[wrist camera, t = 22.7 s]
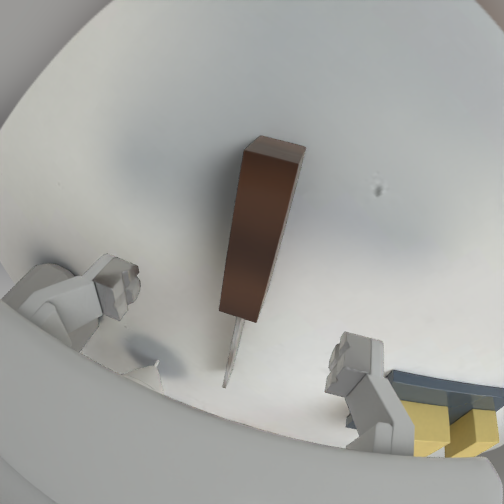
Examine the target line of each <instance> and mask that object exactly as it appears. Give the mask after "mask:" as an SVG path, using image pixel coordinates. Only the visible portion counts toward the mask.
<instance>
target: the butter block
mask: <svg viewBox="0 0 504 504" xmlns="http://www.w3.org/2000/svg"><path fill="white" fill-rule="evenodd" d="M400 401H401V403H402V405H403V406H404V408H405V410H406V412H407V413H408V415H409V417H410V419H411V420H412V422H413V424H414V426H415V433H414V456H416V457H427V456H428V455H430V454H432V453H434V452H435V451H437V450H439V449H440V448H442V447H444V446H445V445H447V444H449V443H450V427H449V414H448V407H447V406H438V405H430V404H423V403H416V402H410V401H403V400H400Z"/></svg>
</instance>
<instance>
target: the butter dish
mask: <svg viewBox="0 0 504 504" xmlns="http://www.w3.org/2000/svg"><path fill="white" fill-rule="evenodd" d="M387 379H388V381H389V382H390V384H391V386H392V387H393V389H394V391H395V393H396V394H397V396H398V398H399V399H400V400H403V401H410V402H416V403H423V404H430V405H438V406H447V407H448V414H449V426H450V425H451V424H453V423H454V422H456V421H457V420H458V419H460V418H461V417H463V416H464V415H465V414H467V413H468V412H469V411H471V410H472V409H480V410H492V411H495V412H497V411H498V410H499V409H500V408H502V407H503V406H504V388H495V387H488V386H480V385H473V384H467V383H460V382H454V381H448V380H442V379H436V378H431V377H425V376H420V375H415V374H410V373H405V372H400V371H395V370H393V371H392V372H391V373H390V374H389V376H388V377H387ZM346 427H347V428H353V429H356V426H355V423H354V421H353V418H352V415H351V414H350V415H349V416H348V417H347V419H346Z"/></svg>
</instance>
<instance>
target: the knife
mask: <svg viewBox="0 0 504 504" xmlns="http://www.w3.org/2000/svg"><path fill="white" fill-rule="evenodd" d="M305 150H306V147H304V146H300V145H297V144H293V143H289V142H285V141H282V140H278V139H274V138H269V137H265V136H259V137H258V138H257V139H256V140H255V141H254V142H253V143H251V144H250V145H249V146H248V147H247V148H246V149H245V150H244V152H243V158H242V164H241V170H240V176H239V182H238V188H237V194H236V200H235V206H234V213H233V219H232V225H231V232H230V238H229V245H228V251H227V258H226V265H225V271H224V278H223V285H222V292H221V299H220V306H219V311H221V312H224V313H227V314H230V315H233V316H236V317H237V319H236V324H235V329H234V334H233V338H232V343H231V348H230V353H229V358H228V363H227V367H226V372H225V377H224V382H223V388H226V386H227V383H228V381H229V378H230V375H231V373H232V370H233V366H234V362H235V358H236V354H237V350H238V346H239V342H240V337H241V333H242V329H243V325H244V321H245V320H249V321H252V322H255V323H256V322H257V320H258V317H259V314H260V311H261V309H262V306H263V303H264V300H265V297H266V294H267V291H268V288H269V285H270V281H271V277H272V274H273V270H274V267H275V263H276V260H277V256H278V252H279V249H280V245H281V241H282V238H283V234H284V230H285V227H286V223H287V219H288V216H289V212H290V208H291V204H292V201H293V197H294V193H295V189H296V185H297V182H298V178H299V174H300V170H301V166H302V162H303V158H304V154H305Z"/></svg>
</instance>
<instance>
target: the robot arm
mask: <svg viewBox="0 0 504 504" xmlns="http://www.w3.org/2000/svg"><path fill="white" fill-rule="evenodd" d="M138 273H139V269H138V266H137V265H135V264H133V263H130V262H128V261H125V260H123V259H120V258H118V257H115V256H113V255H110V254H108V253H107V254H104V255H102V256H101V257H100V258H99V259H98V260H97V261H96V262H95V263H94V264H93V265H92V266H91V267H90V268H89V269H88V270H87V271H86V273H85V274H84V275H83V276H80V275H79V276H76V277H73V278H70V279H67V280H64V281H62V282H59V283H56V284H53V285H51V286H48V287H45V288H42V289H40V290H37V291H34V292H33V293H32V294H31V295H30V296H29V297H28V298H27V299H26V300H25V301H24V302H23V303H22V304H21V305H20V307H19V308H18V309H17V310H16V311H15V310H14V309H13V308H11V307H10V306H9V305H7V304H6V303H5V302H3V301H2V300H1V299H0V504H502V500H503V489H502V488H503V487H502V482H501V480H500V478H499V476H498V474H497V472H496V470H495V469H494V467H493V465H492V464H491V463H490V461H489V460H488V459H487V458H485V457H461V458H442V457H416V456H414V433H415V426H414V424H413V422H412V420H411V419H410V417H409V415H408V413H407V412H406V410H405V408H404V406H403V405H402V403H401V401H400V399H399V398H398V396H397V394H396V393H395V391H394V389H393V387H392V386H391V384H390V382H389V381H388V379H387V378H384V345H383V341H380V340H376V339H372V338H369V337H365V336H361V335H357V334H353V333H349V332H344V333H343V334H342V336H341V338H340V343H339V344H337V345H336V346H335V348H334V350H333V352H332V354H331V357H330V361H329V367H328V368H329V369H330V371H331V372H330V374H329V375H328V377H327V381H326V387H325V392H326V393H329V394H333V395H337V396H341V397H345V400H346V403H347V405H348V408H349V410H350V413H351V415H352V418H353V421H354V423H355V426H356V429H357V431H358V434H359V437H358V438H357V439H355V440H354V441H353V442H351V443H350V444H348V445H347V446H346V449H345V448H339V447H333V446H328V445H323V444H318V443H313V442H308V441H304V440H299V439H295V438H291V437H287V436H283V435H279V434H275V433H271V432H268V431H264V430H261V429H257V428H254V427H250V426H247V425H244V424H241V423H237V422H234V421H231V420H228V419H225V418H222V417H219V416H217V415H214V414H211V413H208V412H205V411H203V410H200V409H197V408H195V407H192V406H190V405H187V404H184V403H182V402H179V401H177V400H175V399H172V398H170V397H167V396H165V395H163V394H160V393H158V392H156V391H154V390H151V389H149V388H147V387H145V386H143V385H141V384H138V383H136V382H134V381H132V380H130V379H128V378H126V377H124V376H122V375H120V374H118V373H116V372H114V371H112V370H110V369H108V368H106V367H105V366H103V365H101V364H99V363H97V362H95V361H94V360H92V359H90V358H88V357H86V356H85V355H83V354H81V353H79V352H78V351H76V350H74V349H73V348H71V346H72V342H71V340H70V338H69V336H68V333H70V332H72V331H74V330H76V329H78V328H79V327H81V326H83V325H85V324H87V323H89V322H91V321H93V320H94V319H96V318H98V317H100V316H102V315H103V314H105V315H107V316H109V317H111V318H114V319H116V320H118V321H120V320H121V319H122V317H123V316H124V315H125V313H126V312H127V311H128V305H129V304H131V303H133V302H134V301H135V300H136V299H137V297H138V295H139V292H140V287H141V283H140V280H139V278H138V277H137V275H138Z"/></svg>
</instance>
